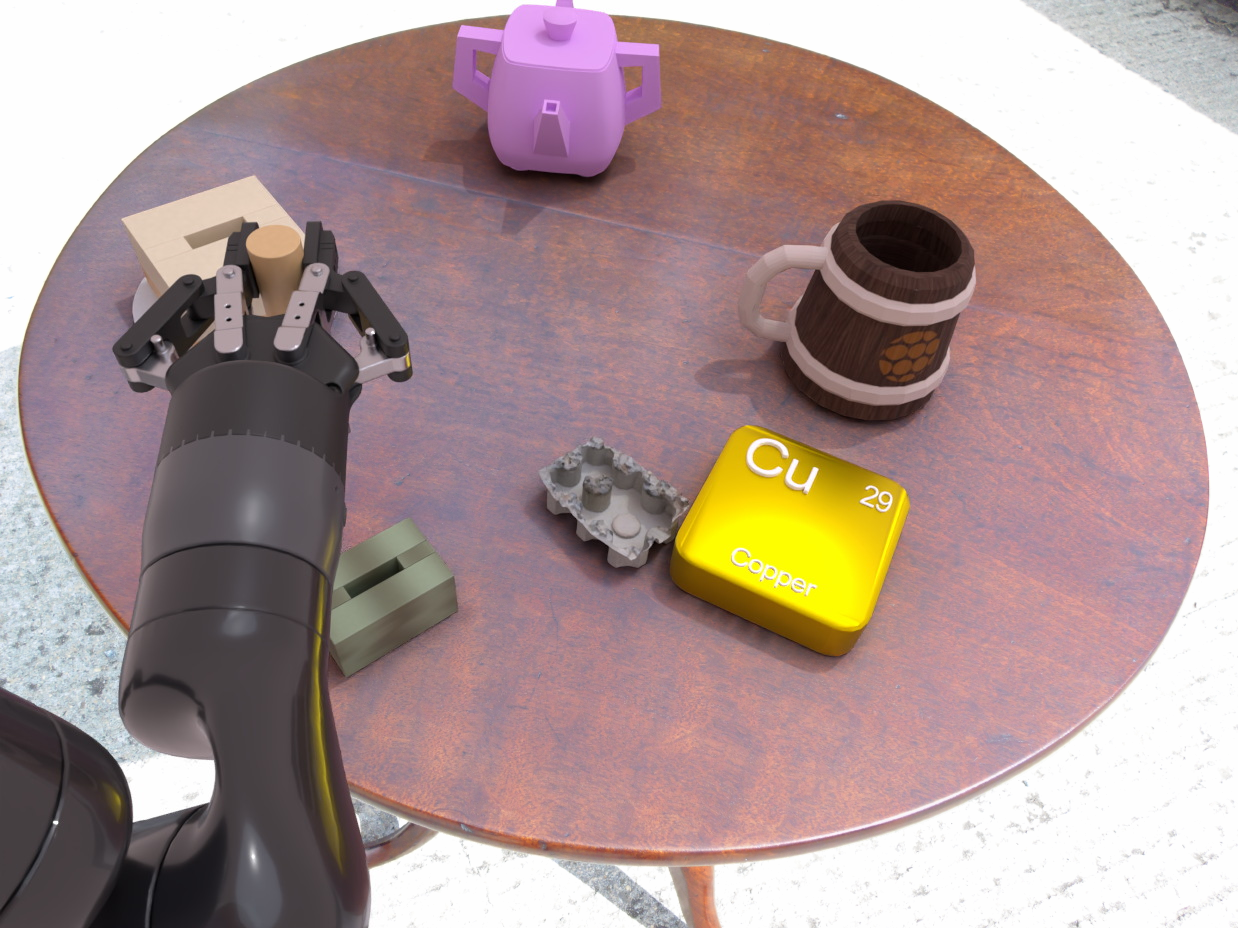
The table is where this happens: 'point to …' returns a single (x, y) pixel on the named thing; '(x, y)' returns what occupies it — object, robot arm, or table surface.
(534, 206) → the table surface
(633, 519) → the egg carton
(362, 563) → the knife block
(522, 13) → the teapot
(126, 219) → the wooden slotted box
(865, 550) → the element tile
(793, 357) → the mug
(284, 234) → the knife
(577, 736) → the table surface
